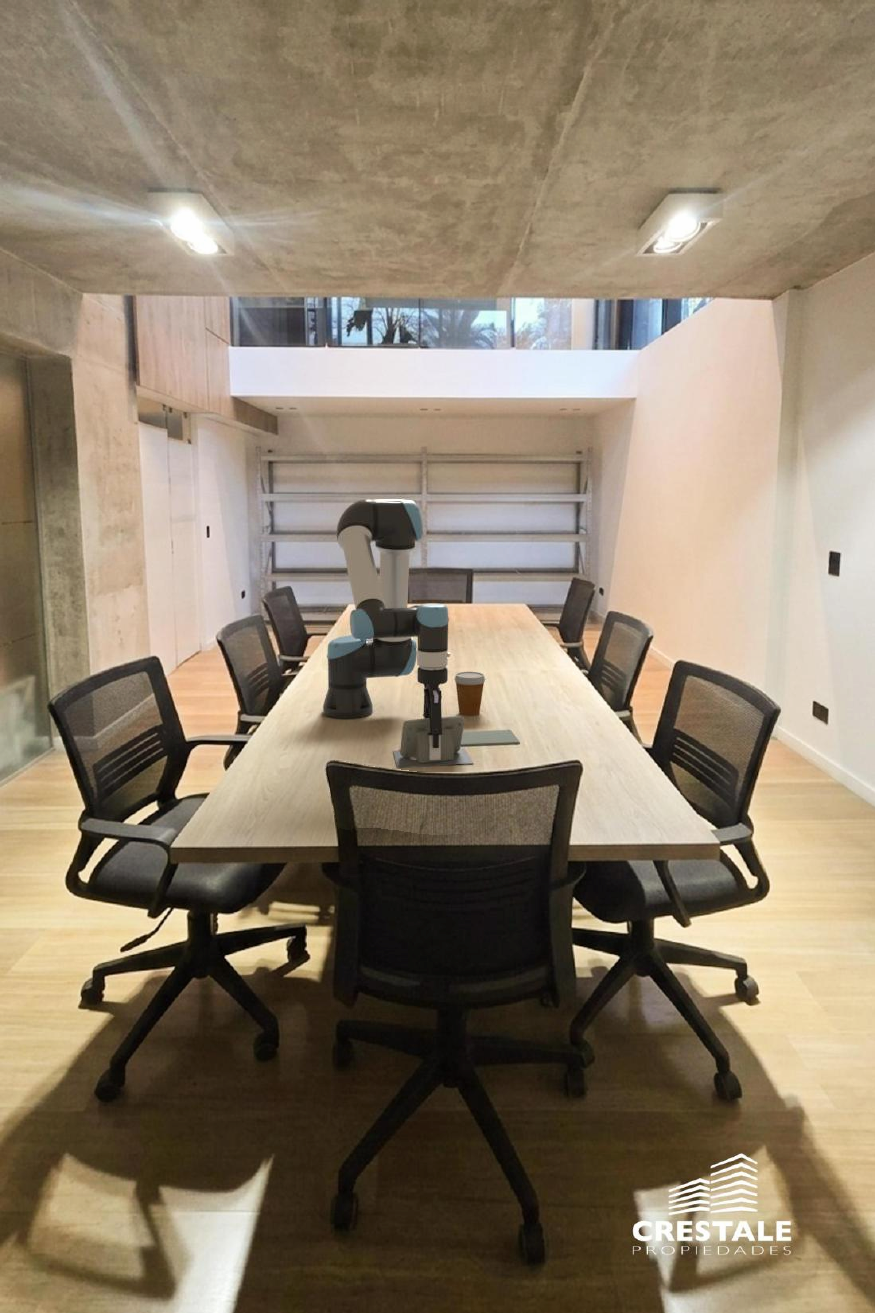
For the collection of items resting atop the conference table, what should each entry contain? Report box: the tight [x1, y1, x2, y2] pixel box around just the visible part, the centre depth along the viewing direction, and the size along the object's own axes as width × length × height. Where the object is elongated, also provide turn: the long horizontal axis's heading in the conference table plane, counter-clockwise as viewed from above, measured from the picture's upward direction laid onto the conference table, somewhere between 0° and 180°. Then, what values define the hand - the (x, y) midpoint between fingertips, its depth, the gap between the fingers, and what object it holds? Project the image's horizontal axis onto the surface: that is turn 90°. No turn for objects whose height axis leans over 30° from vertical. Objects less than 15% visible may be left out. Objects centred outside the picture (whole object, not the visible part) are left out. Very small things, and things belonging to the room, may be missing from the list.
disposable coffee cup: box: [453, 671, 486, 716], centre depth 235 cm, size 10×10×12 cm
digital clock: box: [399, 715, 465, 763], centre depth 194 cm, size 16×9×11 cm, turn 96°
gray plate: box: [392, 747, 474, 768], centre depth 195 cm, size 19×12×1 cm, turn 98°
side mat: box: [460, 729, 521, 747], centre depth 211 cm, size 18×11×1 cm, turn 98°
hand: (432, 752), depth 195 cm, fingers open, 9 cm apart
